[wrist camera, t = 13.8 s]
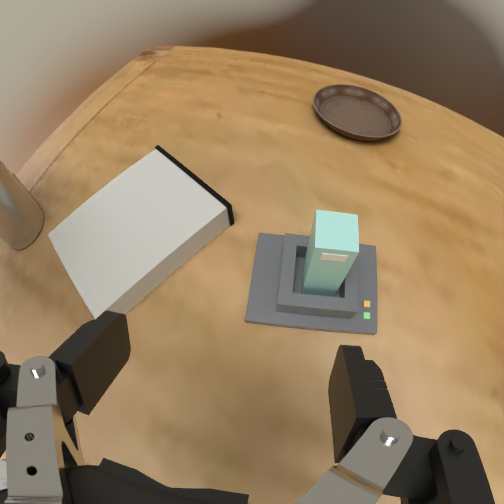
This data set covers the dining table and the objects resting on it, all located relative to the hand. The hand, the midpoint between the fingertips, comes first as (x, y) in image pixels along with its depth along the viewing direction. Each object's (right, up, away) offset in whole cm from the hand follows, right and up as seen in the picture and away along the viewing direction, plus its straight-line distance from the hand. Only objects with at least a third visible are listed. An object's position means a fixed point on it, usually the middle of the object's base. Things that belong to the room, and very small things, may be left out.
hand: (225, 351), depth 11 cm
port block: (+9, 0, +28) cm, 29 cm away
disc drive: (-16, +6, +33) cm, 37 cm away
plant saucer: (+21, +30, +44) cm, 57 cm away
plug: (+9, 0, +27) cm, 29 cm away
